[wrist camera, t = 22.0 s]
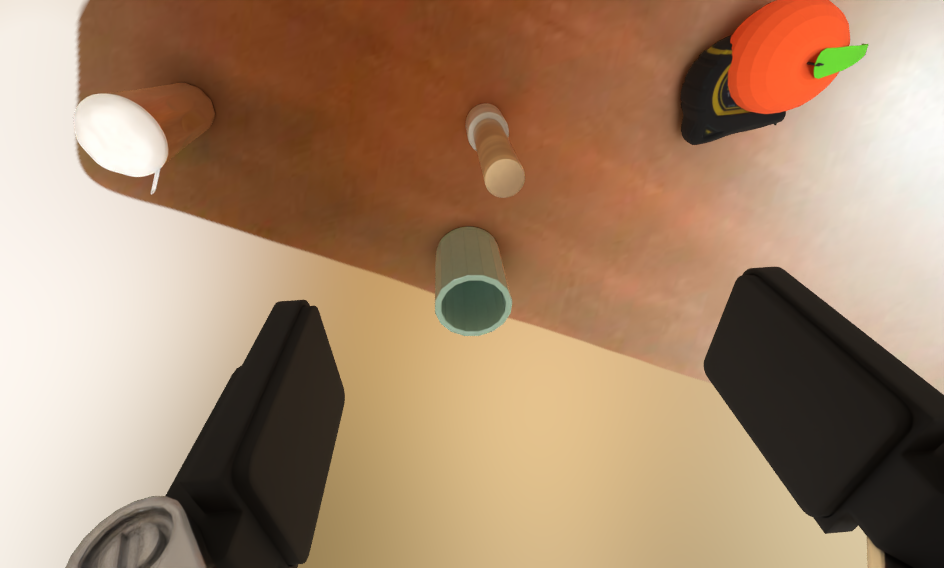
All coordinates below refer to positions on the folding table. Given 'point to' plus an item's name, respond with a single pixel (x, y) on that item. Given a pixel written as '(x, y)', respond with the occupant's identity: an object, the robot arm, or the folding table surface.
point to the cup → (471, 283)
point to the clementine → (789, 54)
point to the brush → (494, 150)
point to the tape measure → (715, 100)
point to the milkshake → (141, 126)
